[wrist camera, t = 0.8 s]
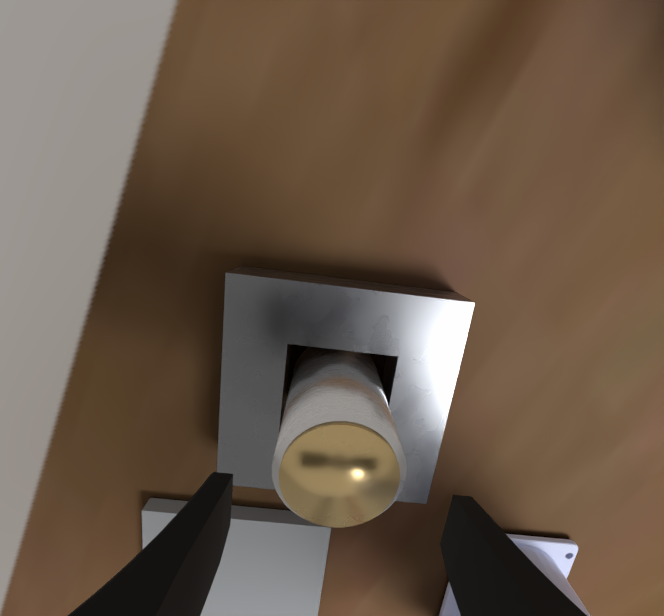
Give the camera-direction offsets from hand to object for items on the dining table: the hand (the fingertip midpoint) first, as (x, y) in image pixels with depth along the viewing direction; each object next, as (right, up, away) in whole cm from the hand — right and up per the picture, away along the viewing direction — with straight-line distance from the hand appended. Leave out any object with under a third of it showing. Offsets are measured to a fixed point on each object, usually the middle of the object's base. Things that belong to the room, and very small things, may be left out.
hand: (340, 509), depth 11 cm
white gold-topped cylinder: (0, +2, +9) cm, 9 cm away
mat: (-7, -12, +13) cm, 19 cm away
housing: (0, +2, +9) cm, 9 cm away
